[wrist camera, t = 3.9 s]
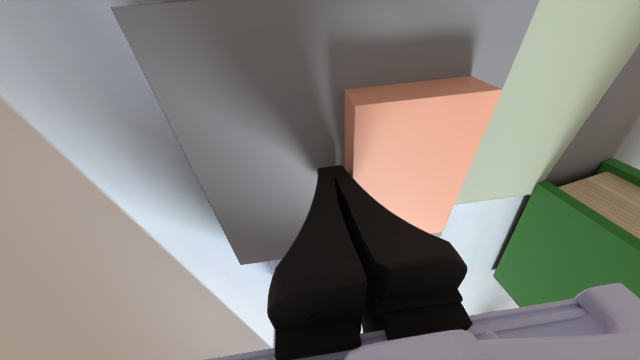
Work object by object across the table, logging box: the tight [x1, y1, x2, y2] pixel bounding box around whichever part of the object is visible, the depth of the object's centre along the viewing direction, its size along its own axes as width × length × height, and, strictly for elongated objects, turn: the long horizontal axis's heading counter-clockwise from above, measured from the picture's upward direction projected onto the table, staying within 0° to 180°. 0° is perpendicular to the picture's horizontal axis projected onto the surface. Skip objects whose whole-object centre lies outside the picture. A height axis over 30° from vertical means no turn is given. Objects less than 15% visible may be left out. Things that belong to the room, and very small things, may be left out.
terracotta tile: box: [345, 76, 502, 234], centre depth 13 cm, size 9×6×2 cm, turn 4°
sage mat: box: [454, 0, 640, 205], centre depth 17 cm, size 17×11×1 cm, turn 3°
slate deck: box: [111, 0, 540, 265], centre depth 15 cm, size 16×16×4 cm
